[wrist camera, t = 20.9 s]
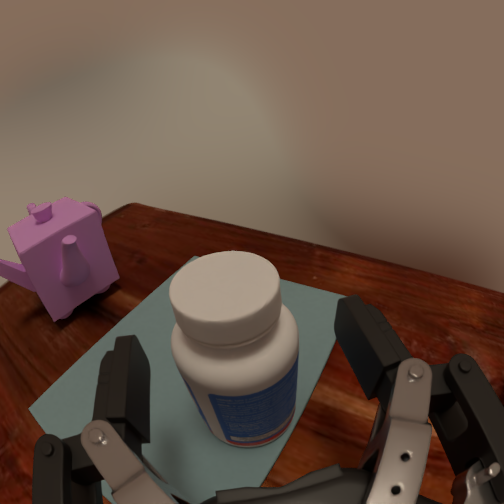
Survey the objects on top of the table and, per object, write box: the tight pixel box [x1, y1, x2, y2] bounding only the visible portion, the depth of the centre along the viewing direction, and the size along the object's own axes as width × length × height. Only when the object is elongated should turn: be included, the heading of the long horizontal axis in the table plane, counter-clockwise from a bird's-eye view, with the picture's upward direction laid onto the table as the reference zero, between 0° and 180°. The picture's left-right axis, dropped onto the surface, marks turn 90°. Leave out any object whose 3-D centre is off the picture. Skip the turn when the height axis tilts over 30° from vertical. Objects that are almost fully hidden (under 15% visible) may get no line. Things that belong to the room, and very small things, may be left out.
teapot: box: [0, 197, 119, 322], centre depth 24 cm, size 18×13×10 cm
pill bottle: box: [169, 251, 299, 447], centre depth 13 cm, size 6×5×10 cm
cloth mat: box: [29, 256, 347, 504], centre depth 19 cm, size 16×22×1 cm
